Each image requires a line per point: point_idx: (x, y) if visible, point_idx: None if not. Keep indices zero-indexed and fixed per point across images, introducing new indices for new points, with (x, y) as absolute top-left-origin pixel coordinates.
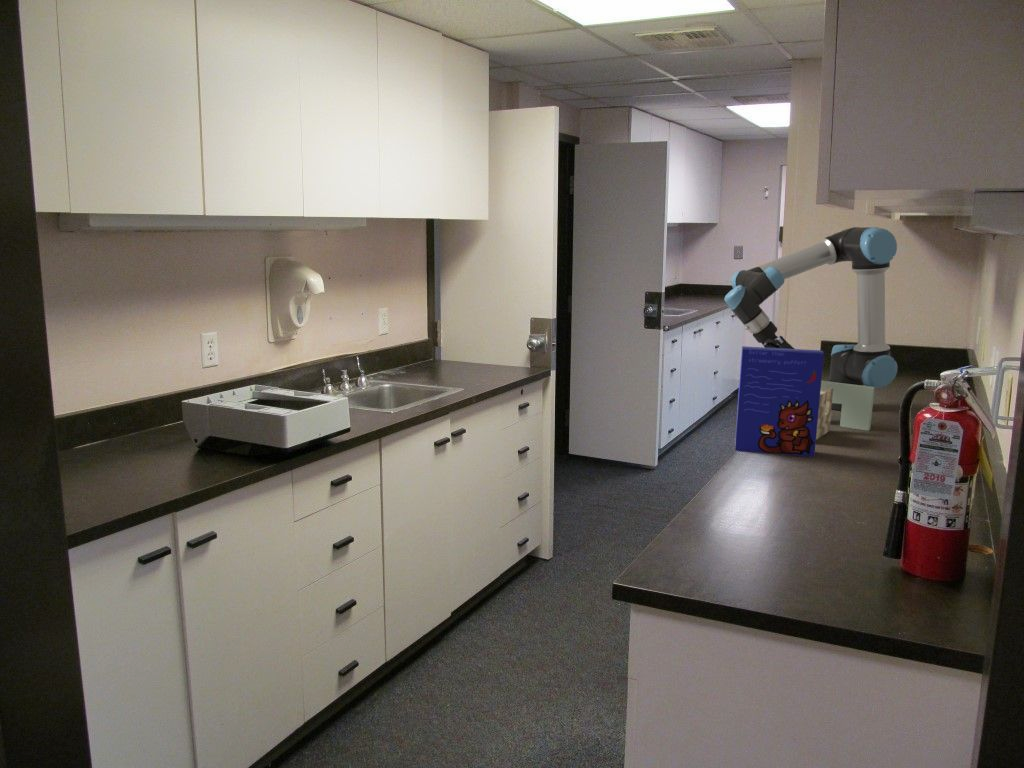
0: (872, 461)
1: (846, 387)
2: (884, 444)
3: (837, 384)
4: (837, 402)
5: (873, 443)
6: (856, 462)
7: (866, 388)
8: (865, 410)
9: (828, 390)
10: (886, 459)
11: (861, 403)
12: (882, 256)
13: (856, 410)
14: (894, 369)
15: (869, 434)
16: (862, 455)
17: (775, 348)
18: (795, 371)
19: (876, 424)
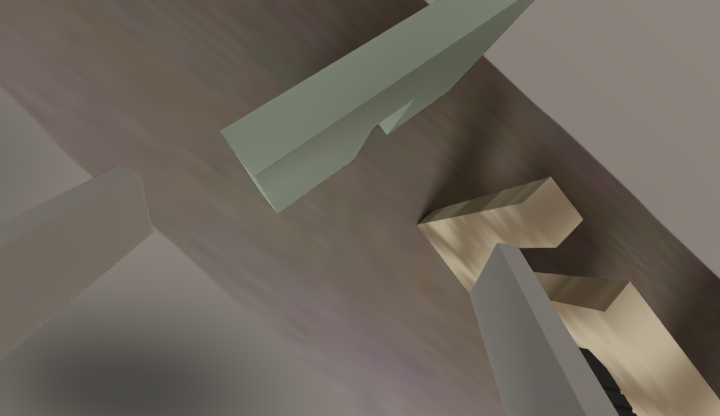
0: (696, 300)
1: (464, 39)
2: (575, 159)
3: (434, 57)
4: (403, 105)
5: (565, 180)
6: (703, 347)
7: None
8: (474, 59)
9: (569, 228)
10: (683, 254)
11: (477, 51)
12: None
13: (449, 78)
14: None
15: (484, 119)
16: (655, 290)
17: None
18: None
19: (385, 7)
